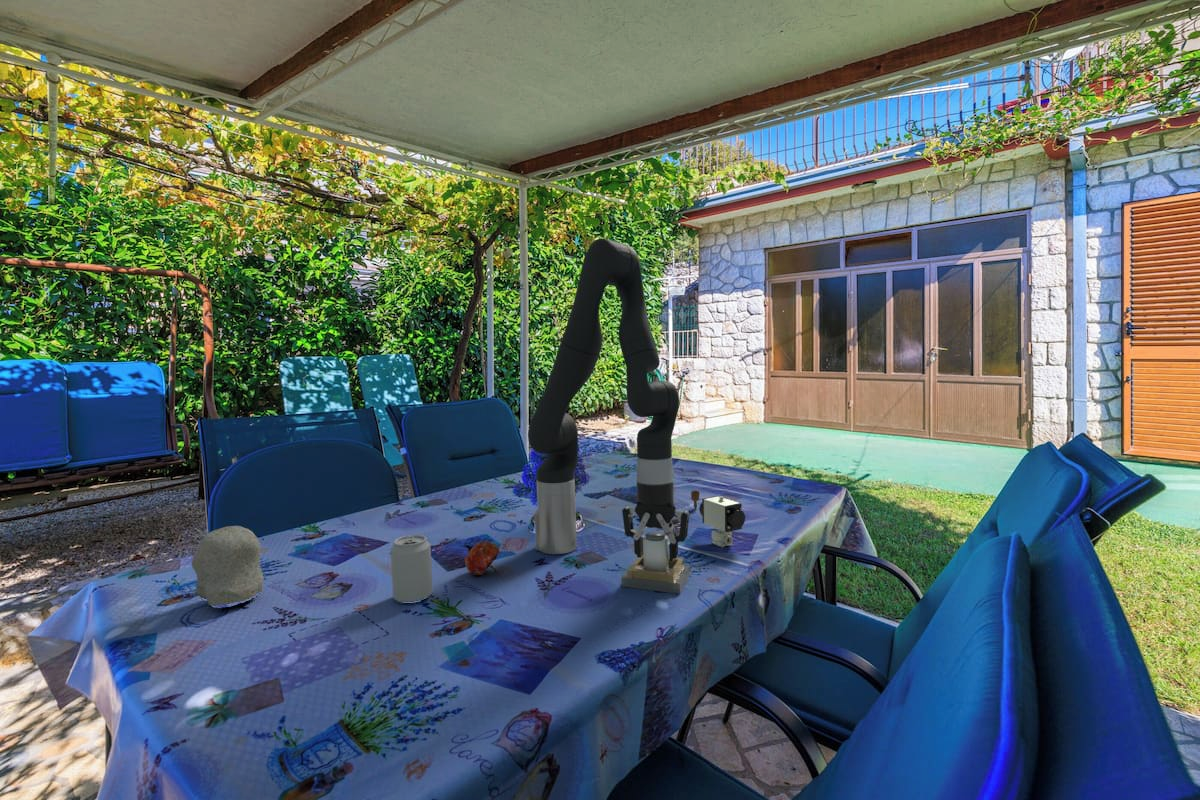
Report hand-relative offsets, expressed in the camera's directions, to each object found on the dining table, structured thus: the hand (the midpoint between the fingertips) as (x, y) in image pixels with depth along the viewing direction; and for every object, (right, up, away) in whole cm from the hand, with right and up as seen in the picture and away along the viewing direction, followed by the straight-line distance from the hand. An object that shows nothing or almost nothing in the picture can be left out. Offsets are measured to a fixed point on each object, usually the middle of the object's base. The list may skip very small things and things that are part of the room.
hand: (656, 557), depth 117 cm
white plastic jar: (0, -3, 0) cm, 3 cm away
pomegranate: (-37, -6, +7) cm, 38 cm away
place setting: (+10, -2, +45) cm, 46 cm away
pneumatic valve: (+19, -3, +21) cm, 28 cm away
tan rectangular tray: (0, -5, 0) cm, 5 cm away
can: (-49, -7, -5) cm, 49 cm away
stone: (-85, -8, -5) cm, 86 cm away
